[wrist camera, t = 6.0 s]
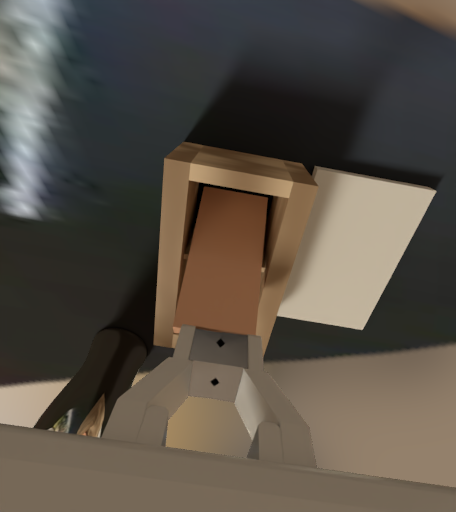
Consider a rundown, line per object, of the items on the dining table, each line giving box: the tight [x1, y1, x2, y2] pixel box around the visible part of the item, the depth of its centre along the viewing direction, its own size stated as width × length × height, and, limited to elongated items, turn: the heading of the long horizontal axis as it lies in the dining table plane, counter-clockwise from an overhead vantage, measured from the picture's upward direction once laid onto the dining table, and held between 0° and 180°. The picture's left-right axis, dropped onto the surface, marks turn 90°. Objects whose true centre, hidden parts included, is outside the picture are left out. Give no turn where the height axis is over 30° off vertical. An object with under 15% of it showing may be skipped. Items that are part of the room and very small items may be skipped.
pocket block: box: [154, 142, 319, 356], centre depth 23 cm, size 9×15×6 cm, turn 170°
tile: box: [173, 186, 268, 335], centre depth 21 cm, size 5×11×3 cm
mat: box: [277, 166, 436, 330], centre depth 26 cm, size 9×14×1 cm, turn 171°
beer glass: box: [33, 328, 147, 438], centre depth 27 cm, size 7×7×15 cm
